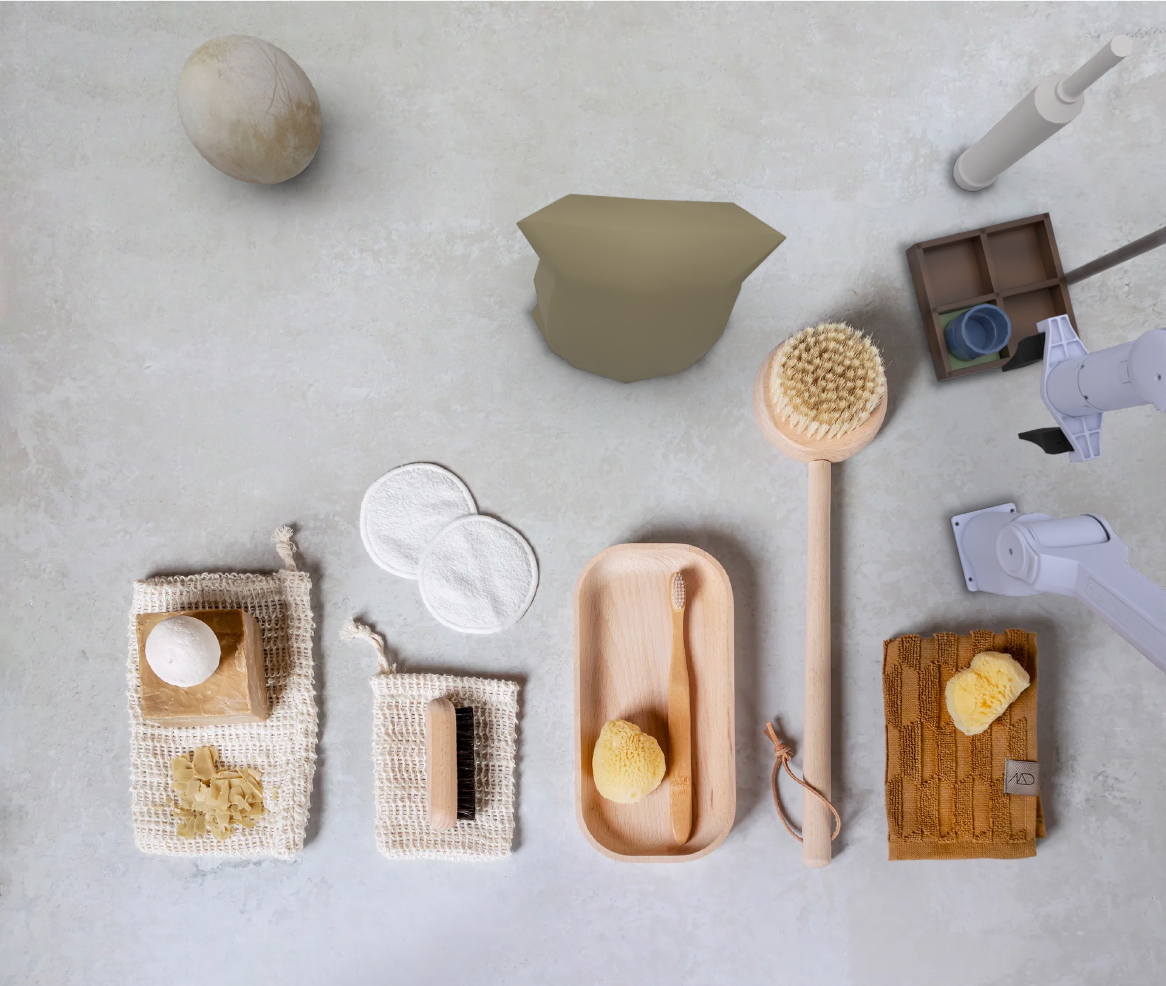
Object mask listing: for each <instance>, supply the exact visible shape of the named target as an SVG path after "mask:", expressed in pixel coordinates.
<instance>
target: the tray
mask: <svg viewBox="0 0 1166 986" xmlns="http://www.w3.org/2000/svg"><path fill="white" fill-rule="evenodd" d="M1052 223H1053V222H1052V219H1051V215H1050V212H1049V211H1048V212H1043V213H1039V214H1035V215H1030V216H1026V217H1021V218H1017V219H1013V220H1009V221H1005V222H1000V223H996V224H993V225H988V226H987V225H986V226H983V227H979V228H975V229H971V230H966V231H962V232H958V233H954V234H950V235H945V236H942V237H938V238H933V239H928V240H925V241H920V242H916V243H913V244H912V245H911V246H910V247H909V248H907V249H906V250H905V254H906V255H905V256H906V259H907V263H908V267H909V270H910V273H911V275H910V276H911V279H912V283H913V287H914V291H915V295H916V299H917V303H918V308H919V311H920V315H921V320H922V324H923V328H924V332H925V336H926V340H927V345H928V348H929V351H930V357H931V361H932V364H933V365H932V366H933V369H934V373H935V377H936V380H937V382H941V381H942V382H944V381H948V380H951V379H956V378H960V377H964V376H968V375H973V374H977V373H981V372H986V371H989V370H994V369H999V368H1001V367H1002V366H1003V365H1004V364H1006V363H1007V362H1008V361H1009V360H1010V359H1011V358H1012V357H1013V355H1014V354H1015V352H1016V350H1017V347H1018V342H1020V341H1021V340H1022V339H1024V338H1026V337H1029V336H1033V335H1037V334H1040V333H1039V332H1038V328H1037V323H1038V322H1041V321H1043V320H1046V319H1048V318H1053V317H1057V316H1061V315H1065V314H1067V315H1068V318H1069V321H1070V324H1071V326H1072V328H1073V330H1074V331H1075V333H1076V334H1077V336H1078V337H1079V339H1080V340H1081V337H1080V332H1079V328H1078V325H1077V321H1076V316H1075V312H1074V309H1073V308H1074V307H1073V304H1072V301H1071V296H1070V291H1069V289H1068V288H1069V287H1071V286H1073V285H1075V284H1077V283H1080V282H1082V281H1084V280H1087V279H1089V278H1091V277H1093V276H1096V275H1098V274H1100V273H1102V272H1105V271H1107V270H1109V269H1112V268H1114V267H1116V266H1118V265H1120V264H1123V263H1125V262H1127V261H1129V260H1133V259H1134V258H1137V257H1138V256H1140V255H1144V254H1145V253H1148V252H1149V251H1152V250H1154V249H1156V248H1159V247H1161V246H1164V245H1166V226H1163V227H1161V228H1158V229H1157V230H1155V231H1152V232H1150V233H1148V234H1146V235H1144V236H1142V237H1140V238H1138V239H1135V240H1133V241H1132V242H1131V241H1130V242H1129V243H1127V244H1125V245H1123V246H1120V247H1119V248H1117V249H1114V250H1112V251H1110V252H1108V253H1105V254H1104V255H1102V256H1100V257H1097V258H1096V259H1093V260H1091V261H1088V262H1087V263H1085V264H1083V265H1080V266H1078V267H1077V268H1074V269H1071V270H1070V271H1068V272H1066V273H1065V272H1064V268H1063V263H1062V259H1061V255H1060V252H1059V248H1058V243H1057V239H1056V235H1055V231H1054V228H1053V224H1052ZM982 304H990V305H994V306H998V307H999V308H1000V309H1001V310H1003V311H1004V312H1005V313H1006V314H1007V316H1008V318H1009V320H1010V322H1011V336H1010V338H1009V340H1008V342H1007V344H1006V345H1005V346H1004V347H1003V348H1002V349H1000V350H999V351H998V352H995V353H993V354H990V355H987V356H984V357H982V358H979V359H975V360H970V361H968V360H963V359H959V358H957V357H956V356H955V355H953V354H952V353H951V352H950V351H949V349H948V347H947V345H946V343H945V330H946V328H947V326H948V323H949V322H950V321H951V320H952V319H953V318H954V317H956V316H957V315H959V314H961V313H963V312H965V311H967V310H969V309H971V308H973V307H975V306H978V305H982Z"/></svg>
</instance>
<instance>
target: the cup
mask: <svg viewBox="0 0 1166 986" xmlns="http://www.w3.org/2000/svg"><path fill="white" fill-rule="evenodd" d="M1010 336H1011V322H1010V320H1009V318H1008V316H1007V314H1006V313H1005V312H1004V311H1003V310H1001V309H1000V308H999V307H998V306H994V305H990V304H982V305H978V306H975V307H973V308H971V309H969V310H967V311H965V312H963V313H961V314H959V315H957V316H956V317H954V318H953V319H952V320H951V321H950V322H949V323H948V326H947V328H946V330H945V343H946V345H947V347H948V349H949V351H950V352H951V353H952V354H953V355H955V356H956V357H957V358H959V359H963V360H968V361H970V360H975V359H979V358H982V357H984V356H987V355H990V354H993V353H995V352H998V351H999V350H1000V349H1002V348H1003V347H1004V346H1005V345H1006V344H1007V342H1008V340H1009V338H1010Z"/></svg>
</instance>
